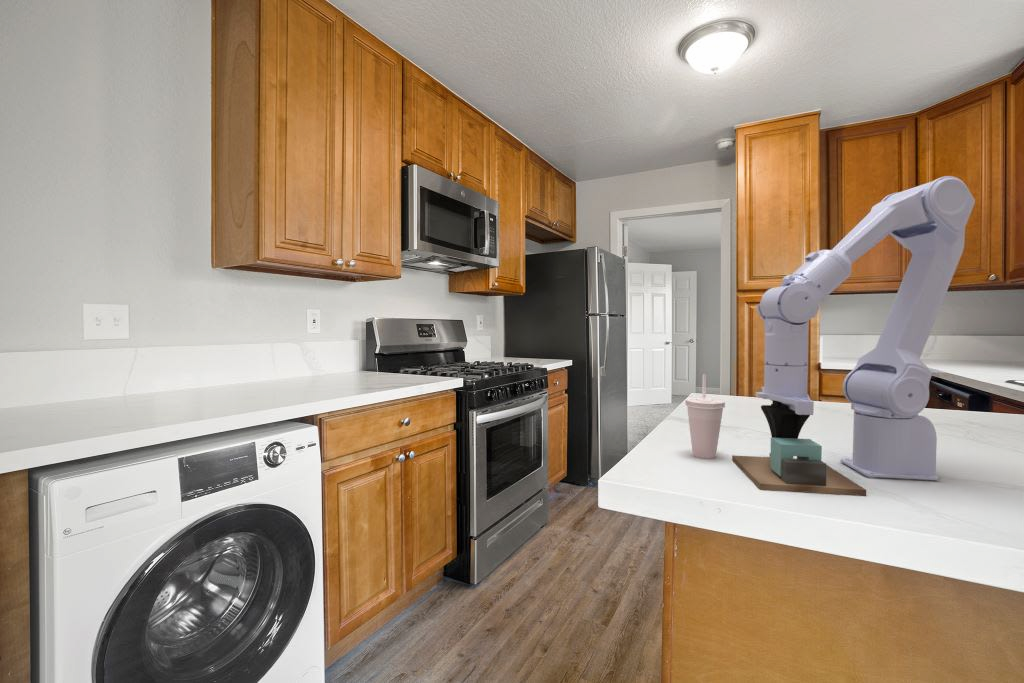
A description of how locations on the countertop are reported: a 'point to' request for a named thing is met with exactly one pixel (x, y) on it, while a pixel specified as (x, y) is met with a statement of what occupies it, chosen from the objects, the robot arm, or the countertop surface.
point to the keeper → (792, 451)
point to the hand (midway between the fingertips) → (783, 452)
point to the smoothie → (704, 423)
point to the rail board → (775, 483)
